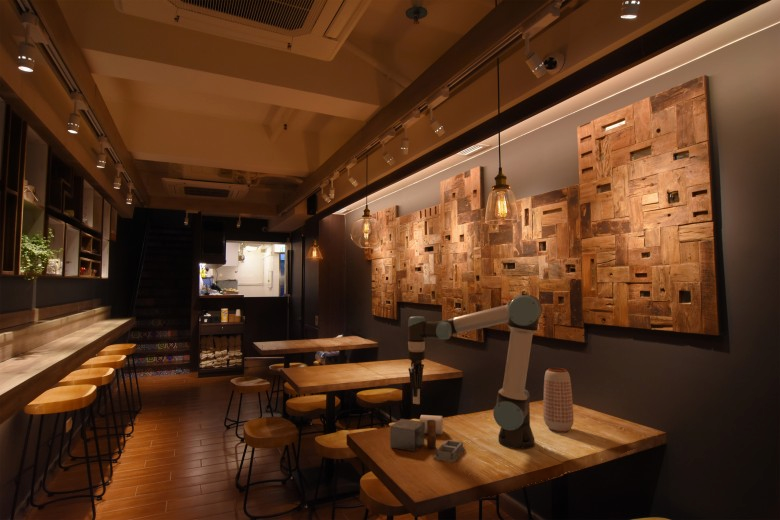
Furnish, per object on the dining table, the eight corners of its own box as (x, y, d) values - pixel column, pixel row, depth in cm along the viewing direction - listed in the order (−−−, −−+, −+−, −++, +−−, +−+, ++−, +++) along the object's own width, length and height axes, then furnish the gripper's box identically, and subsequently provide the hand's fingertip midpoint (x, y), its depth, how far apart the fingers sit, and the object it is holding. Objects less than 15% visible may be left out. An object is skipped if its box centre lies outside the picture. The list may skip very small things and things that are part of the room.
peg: (437, 447, 179) (436, 420, 180) (434, 450, 176) (433, 423, 176) (429, 445, 180) (428, 419, 181) (425, 448, 177) (425, 421, 178)
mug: (441, 437, 191) (441, 419, 192) (419, 435, 193) (419, 417, 194) (443, 428, 203) (443, 411, 203) (422, 427, 205) (422, 410, 205)
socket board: (464, 449, 176) (464, 442, 176) (453, 462, 163) (453, 454, 163) (446, 446, 180) (446, 439, 180) (433, 459, 166) (433, 451, 167)
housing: (424, 442, 183) (424, 422, 184) (414, 451, 173) (414, 429, 174) (401, 438, 188) (401, 418, 189) (390, 447, 178) (390, 426, 179)
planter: (543, 431, 198) (541, 370, 200) (544, 423, 210) (542, 366, 212) (574, 435, 193) (572, 372, 195) (573, 426, 205) (571, 367, 207)
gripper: (414, 348, 200) (414, 399, 198) (403, 351, 188) (402, 405, 187) (429, 349, 196) (429, 401, 195) (418, 353, 185) (418, 408, 183)
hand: (416, 403), depth 191 cm, fingers closed
